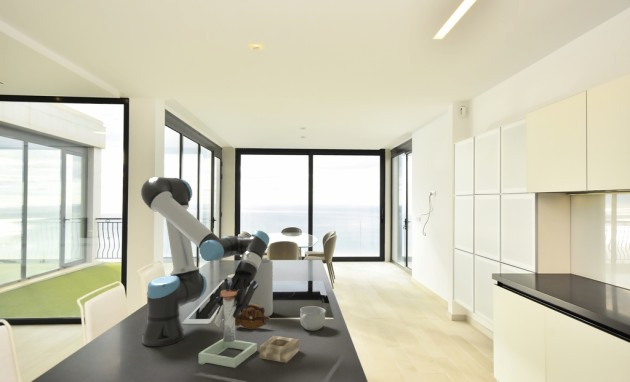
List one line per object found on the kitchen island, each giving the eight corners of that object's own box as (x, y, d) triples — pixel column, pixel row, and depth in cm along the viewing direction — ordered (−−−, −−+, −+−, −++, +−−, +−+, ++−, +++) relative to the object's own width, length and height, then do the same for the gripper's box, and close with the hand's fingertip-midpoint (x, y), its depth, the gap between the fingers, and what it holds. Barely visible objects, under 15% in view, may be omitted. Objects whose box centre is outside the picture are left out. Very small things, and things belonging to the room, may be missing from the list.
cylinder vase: (268, 319, 166) (268, 264, 167) (241, 317, 169) (241, 263, 169) (275, 311, 179) (275, 259, 179) (251, 309, 181) (251, 258, 181)
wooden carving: (230, 329, 154) (230, 305, 154) (233, 325, 158) (234, 302, 158) (268, 331, 151) (268, 307, 152) (271, 327, 156) (271, 304, 156)
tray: (198, 363, 122) (198, 353, 122) (223, 347, 135) (223, 338, 135) (234, 370, 117) (234, 359, 117) (256, 353, 130) (256, 343, 130)
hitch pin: (217, 341, 124) (217, 292, 125) (227, 335, 129) (226, 288, 130) (231, 343, 122) (231, 293, 123) (240, 337, 127) (240, 289, 128)
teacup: (311, 322, 162) (311, 304, 163) (330, 327, 156) (330, 308, 156) (289, 331, 152) (289, 311, 152) (309, 337, 145) (309, 316, 145)
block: (259, 360, 124) (259, 346, 124) (273, 349, 133) (273, 335, 133) (286, 365, 120) (286, 350, 120) (298, 353, 129) (298, 339, 130)
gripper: (224, 259, 139) (196, 317, 123) (264, 262, 133) (240, 322, 117) (232, 271, 144) (206, 327, 128) (271, 273, 138) (248, 333, 122)
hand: (222, 325), depth 122 cm, fingers closed on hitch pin, 4 cm apart
